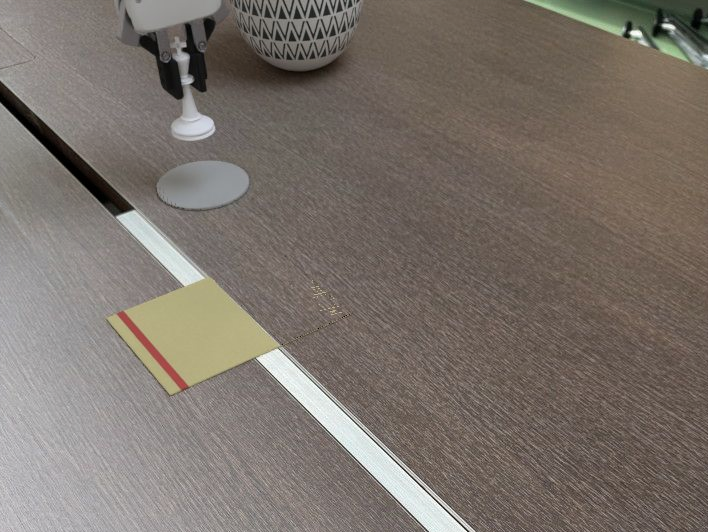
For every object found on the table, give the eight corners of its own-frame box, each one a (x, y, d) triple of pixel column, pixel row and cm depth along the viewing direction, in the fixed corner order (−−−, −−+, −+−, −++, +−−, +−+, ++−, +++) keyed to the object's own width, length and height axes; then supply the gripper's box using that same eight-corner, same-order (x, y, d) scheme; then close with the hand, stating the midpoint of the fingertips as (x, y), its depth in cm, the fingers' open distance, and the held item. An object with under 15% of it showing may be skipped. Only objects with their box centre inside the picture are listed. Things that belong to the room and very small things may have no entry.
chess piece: (217, 138, 94) (202, 43, 86) (172, 143, 93) (153, 48, 86) (213, 118, 97) (198, 24, 89) (170, 123, 96) (151, 29, 89)
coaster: (183, 221, 95) (182, 218, 95) (140, 181, 101) (140, 178, 101) (266, 190, 99) (266, 188, 99) (221, 153, 105) (220, 151, 105)
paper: (170, 396, 76) (170, 394, 76) (106, 319, 84) (105, 317, 83) (351, 314, 84) (351, 313, 83) (277, 250, 91) (277, 249, 91)
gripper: (206, -135, 83) (233, 61, 97) (51, -105, 77) (104, 99, 91) (244, -118, 79) (266, 84, 93) (84, -85, 73) (134, 125, 87)
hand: (186, 90), depth 92 cm, fingers closed on chess piece
